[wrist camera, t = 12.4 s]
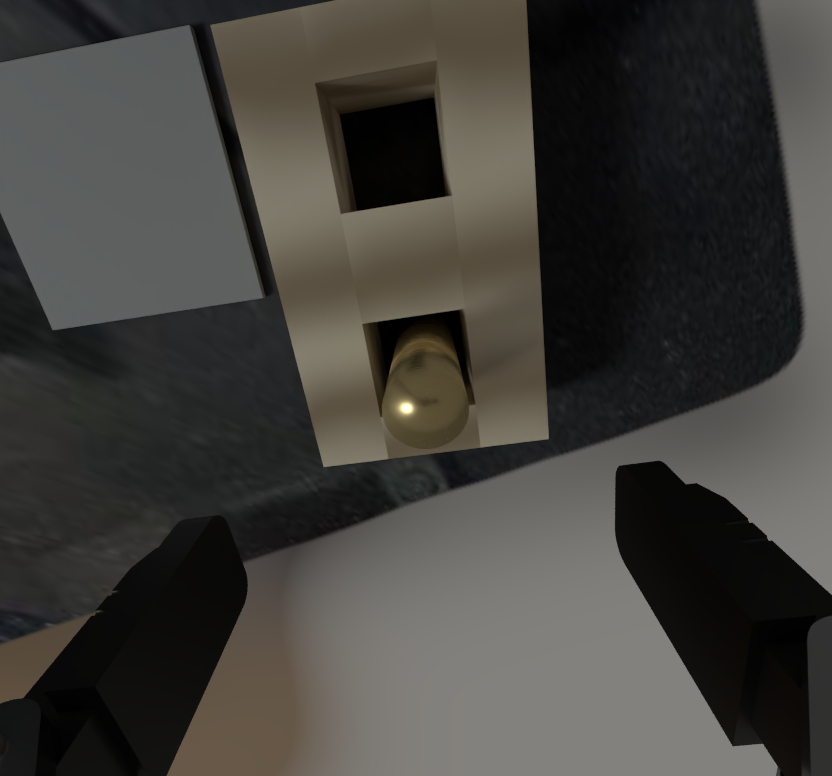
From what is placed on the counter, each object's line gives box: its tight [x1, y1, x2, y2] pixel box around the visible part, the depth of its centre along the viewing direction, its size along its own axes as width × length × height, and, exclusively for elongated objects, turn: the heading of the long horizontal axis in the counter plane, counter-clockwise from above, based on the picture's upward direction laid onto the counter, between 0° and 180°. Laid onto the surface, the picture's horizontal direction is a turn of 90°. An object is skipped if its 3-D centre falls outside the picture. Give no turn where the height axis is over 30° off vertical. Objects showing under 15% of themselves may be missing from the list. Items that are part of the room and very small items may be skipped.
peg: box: [382, 313, 469, 449], centre depth 20 cm, size 3×3×10 cm
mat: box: [0, 25, 266, 330], centre depth 22 cm, size 12×12×1 cm
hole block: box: [211, 0, 549, 467], centre depth 21 cm, size 18×11×5 cm, turn 9°
